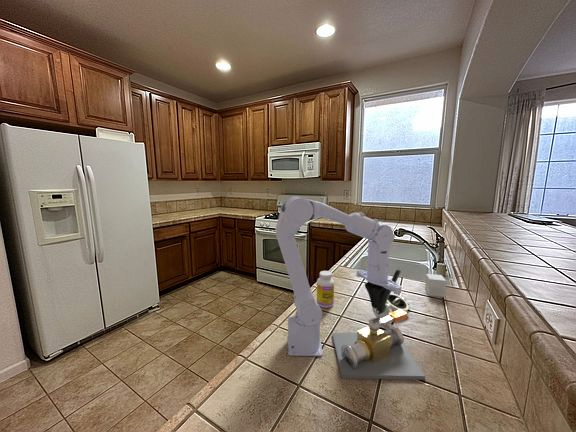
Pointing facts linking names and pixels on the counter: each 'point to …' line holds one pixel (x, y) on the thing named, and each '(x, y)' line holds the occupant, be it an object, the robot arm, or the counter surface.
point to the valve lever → (387, 319)
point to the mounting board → (378, 362)
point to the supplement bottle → (325, 290)
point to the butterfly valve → (391, 302)
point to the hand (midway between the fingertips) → (375, 306)
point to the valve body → (371, 345)
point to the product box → (435, 285)
